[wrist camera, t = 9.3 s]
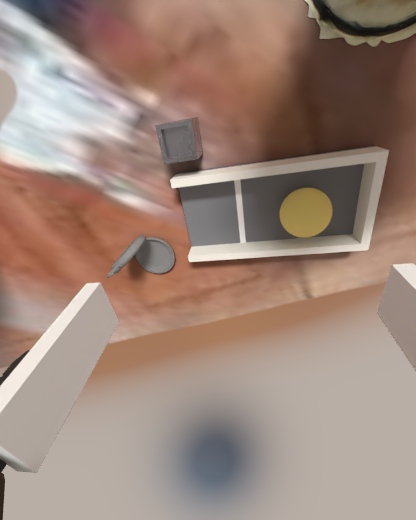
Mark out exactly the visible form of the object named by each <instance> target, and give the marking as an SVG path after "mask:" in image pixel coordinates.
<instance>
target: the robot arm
mask: <svg viewBox="0 0 416 520" xmlns="http://www.w3.org/2000/svg"><path fill="white" fill-rule="evenodd" d="M377 314H378V315H379V317H380V318H381V320H382V321H383V323H384V324H385V326H386V327H387V329H388V330H389V332H390V333H391V335H392V336H393V338H394V339H395V341H396V342H397V344H398V345H399V347H400V348H401V350H402V351H403V353H404V354H405V356H406V357H407V359H408V360H409V362H410V363H411V365H412V366H413V368H414V369H415V371H416V266H415V265H414V264H413V263H412V264H395V265H392V266H391V269H390V272H389V276H388V279H387V282H386V286H385V289H384V293H383V296H382V299H381V303H380V306H379V309H378V313H377ZM118 323H119V320H118V318H117V316H116V314H115V312H114V310H113V308H112V306H111V304H110V302H109V300H108V298H107V295H106V293H105V291H104V289H103V287H102V285H101V283H86V285H85V286H84V287H83V288H82V289H81V291H80V292H79V293H78V294H77V295H76V297H75V298H74V299H73V300H72V301H71V302H70V304H69V305H68V306H67V307H66V308H65V310H64V311H63V312H62V313H61V314H60V316H59V317H58V318H57V319H56V320H55V321H54V323H53V324H52V325H51V326H50V327H49V329H48V330H47V331H46V332H45V333H44V335H43V336H42V337H41V338H40V339H39V341H38V342H37V343H36V344H35V345H34V346H33V348H32V349H31V350H28V351H26V352H25V353H24V354H23V355H21V356H20V357H19V358H18V359H16V360H15V361H14V362H13V363H12V364H11V365H10V367H9V368H8V369H7V370H6V371H5V372H4V373H3V376H2V377H0V520H2V519H3V503H4V487H5V479H4V474H3V473H1V472H2V470H3V469H4V467H5V466H6V464H7V465H9V466H10V467H12V468H13V469H15V470H16V471H22V472H33V473H37V472H38V470H39V468H40V466H41V464H42V463H43V461H44V459H45V457H46V455H47V453H48V451H49V449H50V448H51V446H52V444H53V442H54V440H55V439H56V437H57V435H58V433H59V431H60V429H61V428H62V426H63V423H64V422H65V420H66V418H67V417H68V415H69V413H70V411H71V409H72V407H73V405H74V404H75V402H76V400H77V398H78V396H79V394H80V393H81V391H82V389H83V387H84V385H85V383H86V382H87V380H88V378H89V376H90V374H91V372H92V371H93V369H94V367H95V365H96V363H97V361H98V359H99V358H100V356H101V354H102V352H103V350H104V348H105V347H106V345H107V343H108V341H109V339H110V337H111V336H112V334H113V332H114V330H115V328H116V326H117V325H118Z"/></svg>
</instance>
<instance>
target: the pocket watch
mask: <svg viewBox="0 0 416 520" xmlns="http://www.w3.org/2000/svg"><path fill="white" fill-rule="evenodd" d="M134 255H135V257H136V260H137V261H138V263H139V264H140V265H141V266H142V267H143V268H144V269H145V270H147V271H149V272H152V273H164V272H167V271H169V270H170V269H171V268H172V267H173V265H174V262H175V254H174V251H173V249H172V248H171V246H170V245H169V244H168V243H166V242H165V241H163V240H162V239H159V238H155V237H149V238H146V237H145V236H144V235H140V236H138V237H137V238H136V239H135V240H134V241H133V242H132V243H131V244H130V246H129V247H128V248H127V249H126V250H125V251H124V252H123V253H122V254H121V256H120V257H119V258H118V259H117V260H116V262H115V263H114V264H113V266H112V269H113V270H112V271H111V272H110V273H109V274H108V275H107V276H106V277H107V278H109V277H110V276H112V275H113V274H116V273H118V272H119V271H120V270H121V269H122V268H123V267H124V266H125V265H126V264H127V263H128V262H129V261H130V260H131V258H132V257H133V256H134ZM112 272H113V273H112ZM111 273H112V274H111Z"/></svg>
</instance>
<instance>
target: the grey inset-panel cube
mask: <svg viewBox="0 0 416 520" xmlns="http://www.w3.org/2000/svg"><path fill="white" fill-rule="evenodd" d="M155 126H156V130H157V134H158V139H159V143H160V147H161V151H162V155H163V160H164V164H170V163H176V162H183V161H189V160H196V159H199V157H200V156H201V155H202V154H203V149H202V143H201V136H200V130H199V124H198V117H197V118H191V119H186V120H180V121H175V122H169V123H164V124H160V125H155Z"/></svg>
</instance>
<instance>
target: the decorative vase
mask: <svg viewBox="0 0 416 520" xmlns="http://www.w3.org/2000/svg"><path fill="white" fill-rule="evenodd" d="M305 1H306V2H307V3H308V5H309V12H308V17H310V18H316V20H317V22H318V24H319V26H320V28H321V31H320V38H319V39H332V38H339V37H344V38H345V40H346V42H347V43H348V44H351V45H353V46H355V45H358V44H361V43H364V42H366V43H368V44H369V45H370V46H372V47H374V46H377V45H378V44H379V43H380V41H381V40H383V41H385V42H387V43H392V42H395V41H399V40H403V39H407V38H408V37H410V36H411V35H413V34H415V33H416V0H305Z"/></svg>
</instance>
